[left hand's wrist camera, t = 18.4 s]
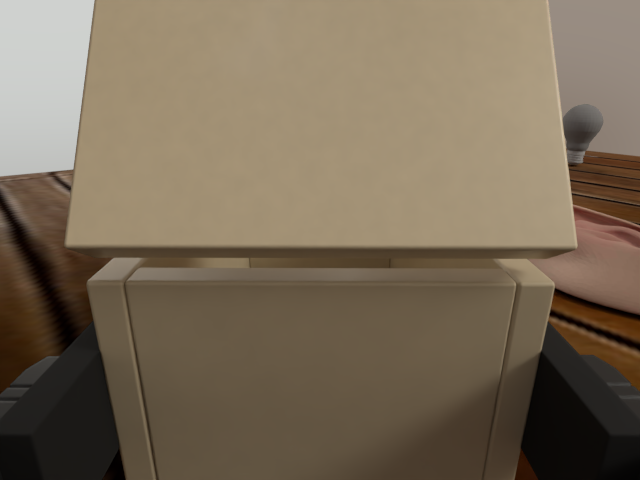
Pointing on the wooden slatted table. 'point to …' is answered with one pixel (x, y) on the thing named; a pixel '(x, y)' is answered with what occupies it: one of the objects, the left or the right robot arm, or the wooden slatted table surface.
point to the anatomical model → (599, 262)
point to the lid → (321, 131)
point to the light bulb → (580, 130)
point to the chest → (320, 366)
